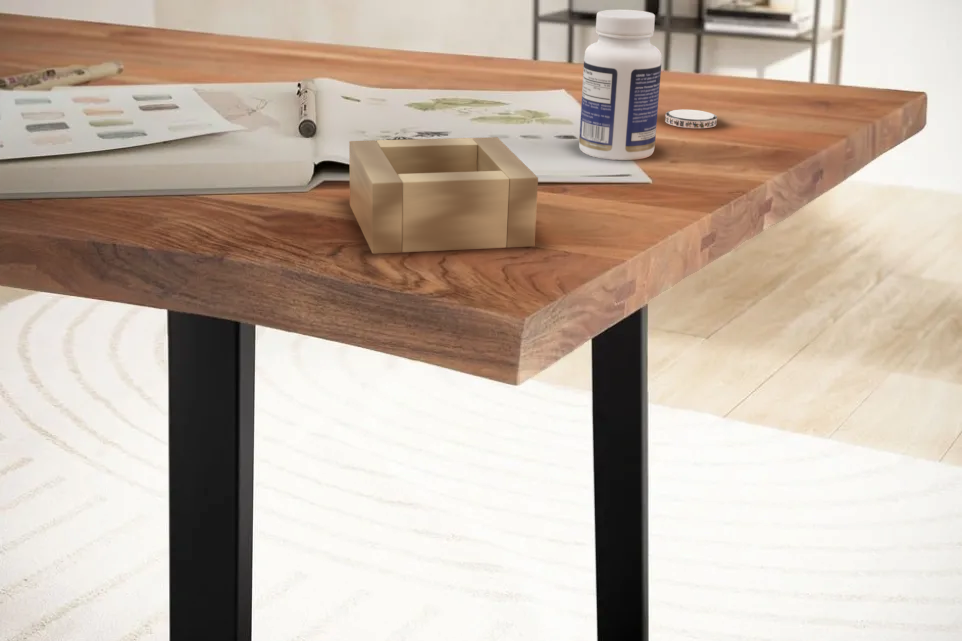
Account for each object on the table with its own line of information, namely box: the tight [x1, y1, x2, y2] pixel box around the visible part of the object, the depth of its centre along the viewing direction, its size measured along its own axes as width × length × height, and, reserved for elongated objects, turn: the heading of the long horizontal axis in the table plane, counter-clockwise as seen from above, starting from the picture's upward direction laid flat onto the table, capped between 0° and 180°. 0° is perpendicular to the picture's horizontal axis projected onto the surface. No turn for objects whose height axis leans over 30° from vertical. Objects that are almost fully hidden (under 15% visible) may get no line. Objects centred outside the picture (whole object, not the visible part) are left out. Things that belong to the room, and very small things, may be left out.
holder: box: [348, 136, 539, 254], centre depth 70 cm, size 9×9×4 cm
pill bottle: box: [578, 9, 663, 161], centre depth 86 cm, size 5×5×10 cm
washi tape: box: [664, 109, 718, 129], centre depth 97 cm, size 4×4×1 cm
